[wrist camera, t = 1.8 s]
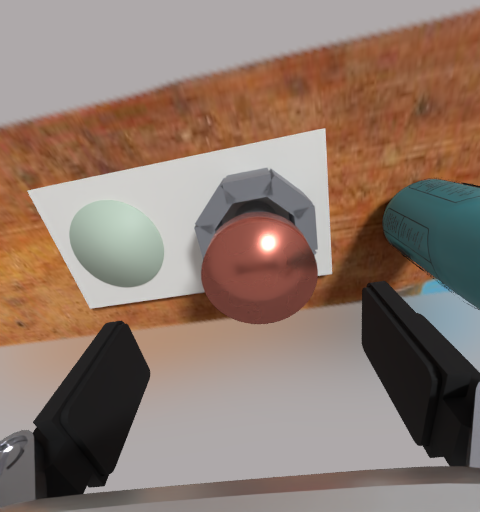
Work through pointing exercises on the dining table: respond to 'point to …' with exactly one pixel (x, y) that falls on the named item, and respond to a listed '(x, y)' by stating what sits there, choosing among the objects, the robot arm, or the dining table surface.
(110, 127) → the dining table surface
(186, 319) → the dining table surface
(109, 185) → the board
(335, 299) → the dining table surface
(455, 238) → the beverage bottle
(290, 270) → the copper domed post
